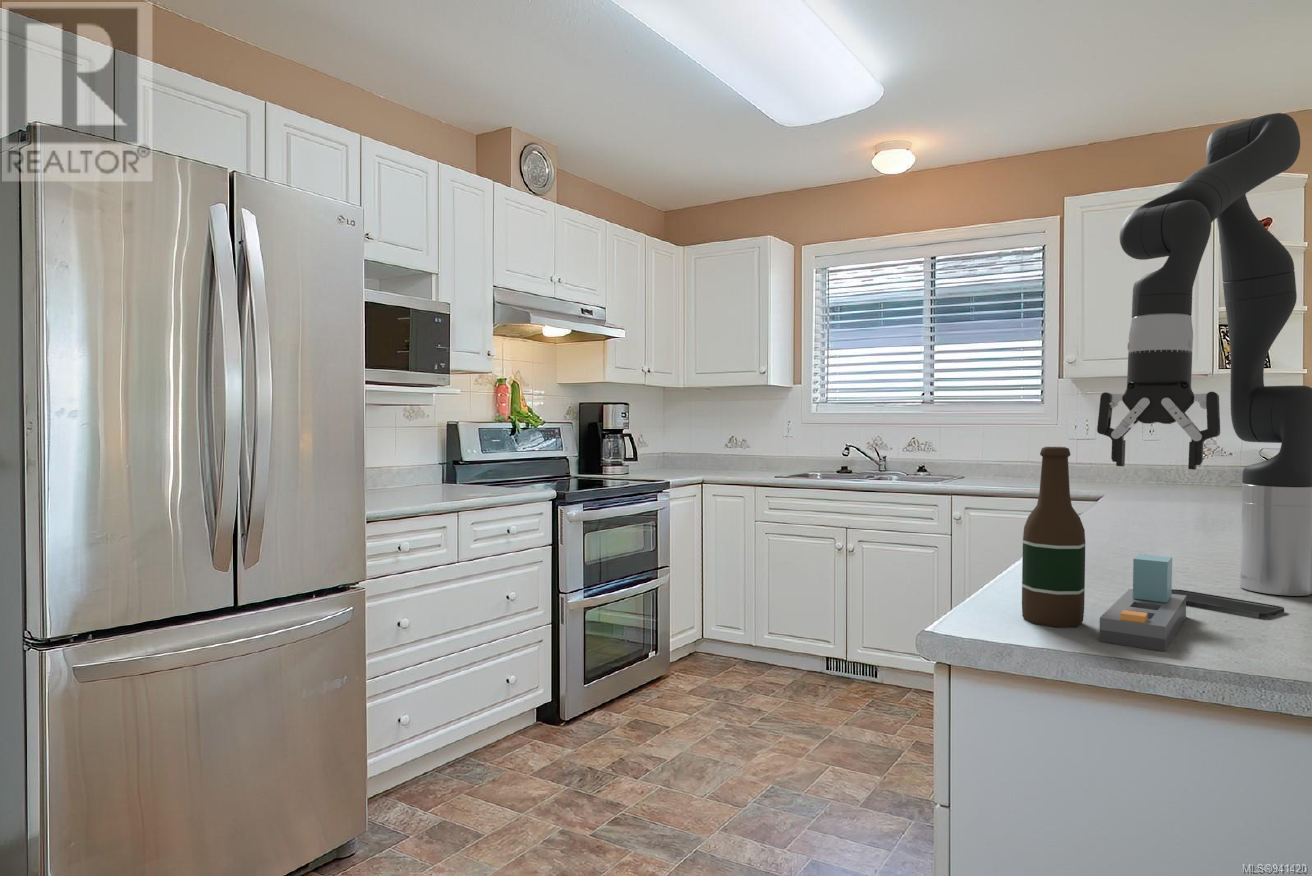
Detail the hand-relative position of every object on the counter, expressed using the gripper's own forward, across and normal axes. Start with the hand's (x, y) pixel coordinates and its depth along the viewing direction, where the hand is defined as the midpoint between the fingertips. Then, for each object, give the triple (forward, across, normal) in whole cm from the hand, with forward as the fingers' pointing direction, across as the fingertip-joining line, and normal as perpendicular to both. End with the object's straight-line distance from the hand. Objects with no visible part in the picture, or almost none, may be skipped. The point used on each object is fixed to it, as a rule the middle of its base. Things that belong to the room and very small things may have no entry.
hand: (1155, 467), depth 111 cm
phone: (+21, -6, -17) cm, 28 cm away
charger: (+20, 0, -1) cm, 20 cm away
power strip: (+21, 0, +5) cm, 22 cm away
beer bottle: (+22, +10, +9) cm, 26 cm away
